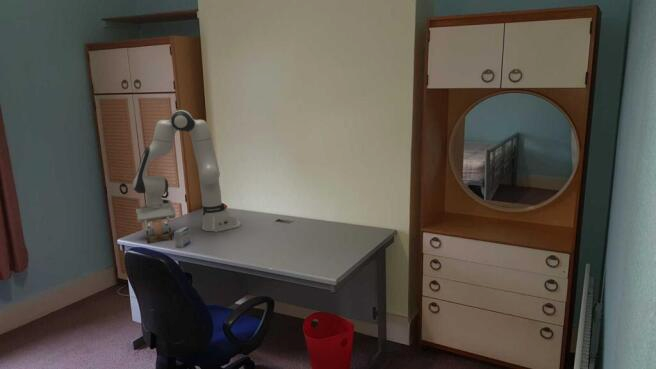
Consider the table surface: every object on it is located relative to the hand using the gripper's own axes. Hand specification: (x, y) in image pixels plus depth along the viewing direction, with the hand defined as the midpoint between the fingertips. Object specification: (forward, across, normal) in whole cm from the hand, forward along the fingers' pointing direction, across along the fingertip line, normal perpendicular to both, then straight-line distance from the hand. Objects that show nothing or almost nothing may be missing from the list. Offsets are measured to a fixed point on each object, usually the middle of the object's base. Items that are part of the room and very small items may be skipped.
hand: (157, 226), depth 257 cm
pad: (-5, +1, +15) cm, 16 cm away
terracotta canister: (+6, 0, +4) cm, 7 cm away
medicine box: (+17, +11, -7) cm, 22 cm away
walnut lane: (+4, 0, +6) cm, 8 cm away
